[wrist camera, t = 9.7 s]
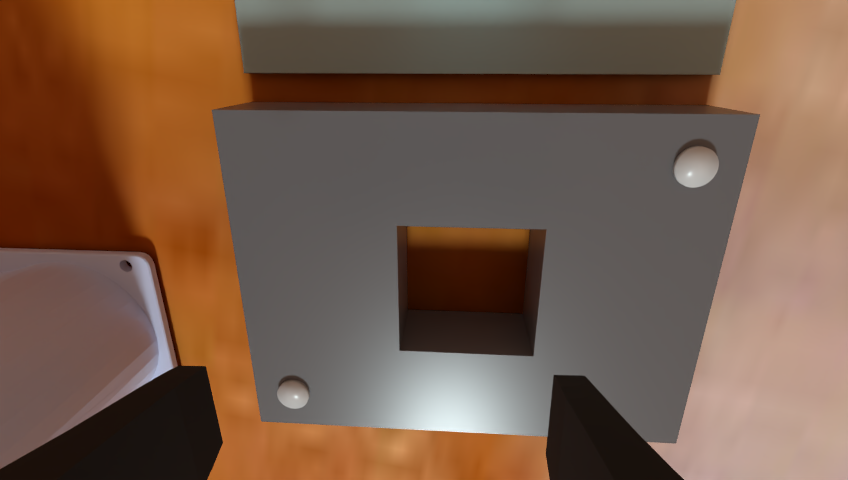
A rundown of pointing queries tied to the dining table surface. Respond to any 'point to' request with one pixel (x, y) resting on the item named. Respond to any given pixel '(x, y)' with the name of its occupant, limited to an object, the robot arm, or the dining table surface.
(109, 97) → the dining table surface
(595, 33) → the mat
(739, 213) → the dining table surface
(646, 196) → the plate
